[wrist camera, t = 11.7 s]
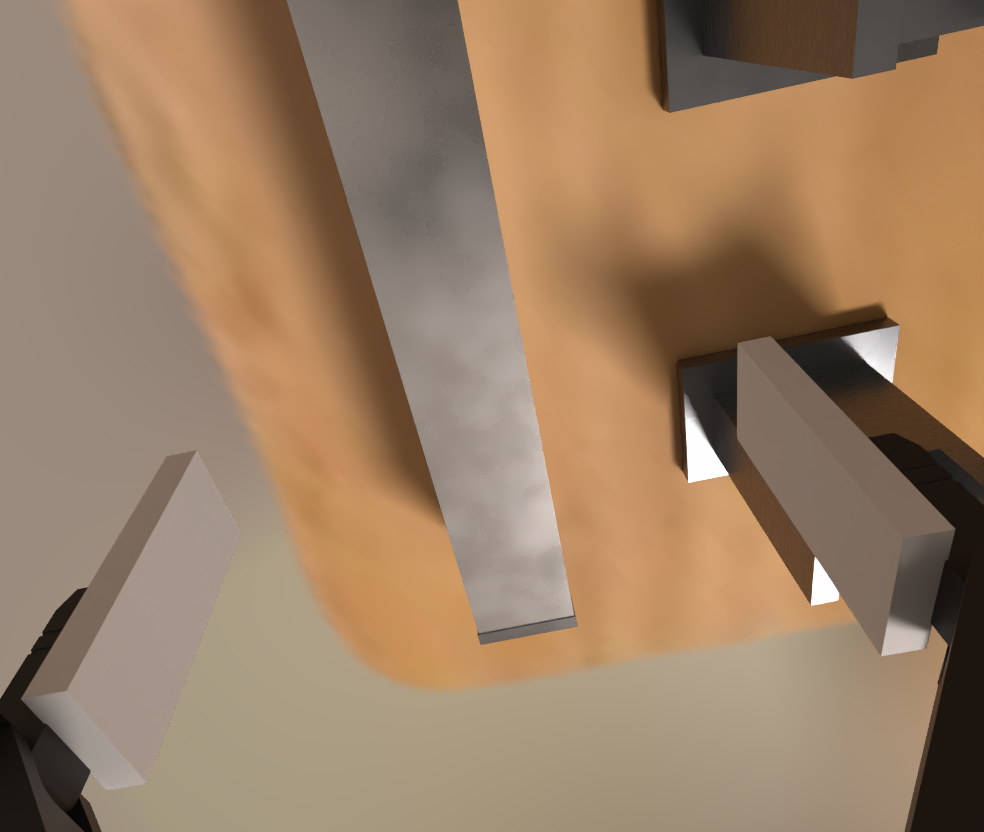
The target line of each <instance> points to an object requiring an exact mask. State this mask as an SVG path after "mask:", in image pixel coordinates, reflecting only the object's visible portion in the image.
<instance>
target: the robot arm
mask: <svg viewBox="0 0 984 832" xmlns="http://www.w3.org/2000/svg"><path fill="white" fill-rule="evenodd" d="M737 439H738V441H739V442H740V444H741V445H742V447H743V448H744V450H745V451H746V453H747V454H748V456H749V457H750V459H751V460H752V462H753V463H754V465H755V466H756V468H757V469H758V471H759V472H760V474H761V476H762V477H763V479H764V480H765V482H766V483H767V485H768V486H769V488H770V489H771V491H772V492H773V494H774V495H775V497H776V498H777V500H778V501H779V503H780V504H781V506H782V507H783V509H784V510H785V512H786V513H787V515H788V516H789V518H790V519H791V521H792V522H793V524H794V525H795V527H796V528H797V530H798V531H799V533H800V534H801V536H802V537H803V539H804V540H805V542H806V544H807V545H808V547H809V548H810V550H811V551H812V553H813V554H814V556H815V557H816V559H817V560H818V562H819V563H820V565H821V566H822V568H823V569H824V571H825V572H826V574H827V575H828V577H829V578H830V580H831V581H832V583H833V584H834V586H835V587H836V589H837V590H838V592H839V593H840V595H841V596H842V598H843V599H844V601H845V602H846V604H847V605H848V607H849V608H850V610H851V612H852V613H853V615H854V616H855V618H856V619H857V621H858V622H859V624H860V625H861V627H862V628H863V630H864V631H865V633H866V634H867V636H868V637H869V639H870V640H871V642H872V643H873V645H874V646H875V648H876V649H877V651H878V652H879V654H880V655H881V656H885V655H891V654H897V653H903V652H908V651H914V650H920V649H926V648H927V644H928V640H929V636H930V632H931V627H932V625H933V626H934V628H935V629H936V630H937V631H938V633H939V634H940V635H941V637H942V638H943V639H944V640H945V642H946V643H947V644H948V647H947V650H946V654H945V658H944V662H943V665H942V669H941V673H940V677H939V680H938V689H937V693H936V698H935V702H934V706H933V710H932V715H931V719H930V723H929V728H928V732H927V736H926V741H925V745H924V749H923V754H922V758H921V762H920V767H919V771H918V776H917V780H916V784H915V788H914V793H913V797H912V802H911V806H910V810H909V814H908V819H907V823H906V828H905V832H984V505H983V504H982V503H981V502H980V501H979V500H978V499H977V498H975V497H974V496H973V495H972V494H971V493H970V492H969V491H968V490H967V489H966V488H965V487H964V486H963V485H962V484H961V483H960V482H959V481H955V480H954V477H953V476H952V475H951V474H950V473H949V472H948V471H947V470H946V469H945V468H944V467H943V466H942V467H940V466H939V463H938V462H937V461H936V460H935V459H934V458H933V457H932V456H931V455H930V454H929V453H928V452H927V451H926V450H925V449H924V448H923V447H921V446H920V445H918V444H916V443H914V442H912V441H910V440H908V439H906V438H904V437H902V436H900V435H898V434H896V433H890V434H884V435H879V436H874V437H869V438H868V437H867V436H866V435H865V434H864V433H863V432H862V431H861V430H860V429H859V428H858V427H857V426H856V425H855V424H854V423H853V422H852V421H851V420H850V419H849V418H848V416H847V415H846V414H845V413H844V412H843V411H842V410H841V409H840V408H839V407H838V406H837V405H836V404H835V403H834V402H833V401H832V400H831V399H830V398H829V397H828V396H827V395H826V394H825V392H824V391H823V390H822V389H821V388H820V387H819V386H818V385H817V384H816V383H815V382H814V381H813V380H812V379H811V378H810V377H809V376H808V375H807V374H806V373H805V372H804V371H803V370H802V369H801V367H800V366H799V365H798V364H797V363H796V362H795V361H794V360H793V359H792V358H791V357H790V356H789V355H788V354H787V353H786V352H785V351H784V350H783V349H782V348H781V347H780V346H779V345H778V343H777V342H776V341H775V340H774V339H773V338H772V337H771V336H769V337H764V338H759V339H754V340H749V341H744V342H739V343H738V351H737ZM240 535H241V533H240V531H239V529H238V527H237V525H236V523H235V521H234V519H233V517H232V516H231V514H230V512H229V510H228V508H227V506H226V504H225V503H224V501H223V499H222V497H221V495H220V493H219V491H218V489H217V488H216V486H215V484H214V482H213V480H212V478H211V476H210V474H209V472H208V471H207V469H206V467H205V465H204V463H203V461H202V459H201V457H200V456H199V454H198V452H197V451H191V452H186V453H181V454H176V455H171V456H167V457H166V458H165V460H164V462H163V463H162V465H161V467H160V468H159V470H158V472H157V473H156V475H155V477H154V478H153V480H152V482H151V483H150V485H149V487H148V488H147V490H146V492H145V493H144V495H143V497H142V498H141V500H140V502H139V503H138V505H137V507H136V508H135V510H134V512H133V513H132V515H131V517H130V518H129V520H128V522H127V523H126V525H125V527H124V528H123V530H122V532H121V533H120V535H119V537H118V538H117V540H116V541H115V543H114V545H113V546H112V548H111V550H110V551H109V553H108V555H107V556H106V558H105V560H104V562H103V563H102V565H101V567H100V568H99V570H98V572H97V573H96V575H95V576H94V578H93V580H92V581H91V583H90V585H89V586H88V587H87V588H82V589H77V590H76V591H75V592H74V593H73V594H72V595H71V596H70V597H69V598H68V599H67V600H66V601H65V602H64V603H63V604H62V605H61V606H60V607H59V608H58V609H57V610H56V611H55V613H54V614H53V616H52V618H51V619H50V621H49V622H48V624H47V626H46V627H45V629H44V630H43V632H42V633H43V636H40V637H39V638H38V640H37V641H36V643H35V645H34V646H33V648H32V649H31V651H32V653H31V654H29V655H28V656H27V657H26V659H25V661H24V662H23V664H22V665H21V667H20V669H19V670H18V672H17V673H16V675H15V677H14V678H13V679H12V681H11V683H10V684H9V686H8V687H7V689H6V691H5V692H4V694H3V695H2V697H1V699H0V832H101V829H100V827H99V825H98V822H97V819H96V817H95V815H94V812H93V810H92V807H91V805H90V803H89V802H88V801H87V800H86V799H85V798H84V797H83V796H82V795H81V792H82V790H83V787H84V785H85V783H86V781H87V779H88V776H89V774H90V773H91V774H92V775H93V776H94V777H95V779H96V780H98V782H99V783H100V784H101V785H102V786H103V787H104V788H105V789H106V790H113V789H119V788H124V787H130V786H136V785H142V784H147V782H148V780H149V777H150V775H151V772H152V769H153V767H154V764H155V761H156V758H157V756H158V753H159V751H160V748H161V745H162V743H163V740H164V737H165V734H166V732H167V729H168V727H169V724H170V721H171V719H172V716H173V713H174V711H175V708H176V705H177V703H178V700H179V697H180V695H181V692H182V689H183V687H184V684H185V681H186V679H187V676H188V674H189V671H190V668H191V665H192V663H193V660H194V658H195V655H196V652H197V650H198V647H199V644H200V641H201V639H202V636H203V634H204V631H205V628H206V626H207V623H208V620H209V618H210V615H211V612H212V610H213V607H214V604H215V602H216V599H217V596H218V594H219V591H220V588H221V586H222V583H223V580H224V577H225V575H226V572H227V570H228V567H229V564H230V562H231V559H232V556H233V554H234V551H235V549H236V546H237V543H238V540H239V538H240Z"/></svg>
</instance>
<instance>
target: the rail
mask: <svg viewBox="0 0 984 832" xmlns="http://www.w3.org/2000/svg"><path fill="white" fill-rule="evenodd" d="M286 1H287V4H288V7H289V11H290V14H291V17H292V20H293V24H294V27H295V30H296V34H297V37H298V40H299V43H300V47H301V50H302V53H303V57H304V60H305V63H306V67H307V70H308V73H309V76H310V80H311V83H312V86H313V90H314V93H315V96H316V99H317V103H318V106H319V109H320V113H321V116H322V119H323V122H324V126H325V129H326V132H327V136H328V139H329V142H330V146H331V149H332V152H333V155H334V159H335V162H336V165H337V169H338V172H339V175H340V178H341V182H342V185H343V188H344V192H345V195H346V198H347V201H348V205H349V208H350V211H351V215H352V218H353V221H354V225H355V228H356V231H357V234H358V238H359V241H360V244H361V248H362V251H363V254H364V257H365V261H366V264H367V267H368V271H369V274H370V277H371V281H372V284H373V287H374V290H375V294H376V297H377V300H378V304H379V307H380V310H381V313H382V317H383V320H384V323H385V327H386V330H387V333H388V336H389V340H390V343H391V346H392V350H393V353H394V356H395V360H396V363H397V366H398V369H399V373H400V376H401V379H402V383H403V386H404V389H405V392H406V396H407V399H408V402H409V406H410V409H411V412H412V415H413V419H414V422H415V425H416V429H417V432H418V435H419V439H420V442H421V445H422V448H423V452H424V455H425V458H426V462H427V465H428V468H429V471H430V475H431V478H432V481H433V485H434V488H435V491H436V495H437V498H438V501H439V504H440V508H441V511H442V514H443V518H444V521H445V524H446V527H447V531H448V534H449V537H450V541H451V544H452V547H453V550H454V554H455V557H456V560H457V564H458V567H459V570H460V574H461V577H462V580H463V583H464V587H465V590H466V593H467V597H468V600H469V603H470V606H471V610H472V613H473V616H474V620H475V623H476V626H477V631H478V638H479V641H480V644H481V645H483V644H488V643H493V642H499V641H504V640H509V639H514V638H520V637H525V636H530V635H535V634H541V633H546V632H551V631H556V630H562V629H567V628H572V627H577V621H576V616H575V612H574V607H573V603H572V598H571V594H570V590H569V585H568V580H567V575H566V570H565V565H564V559H563V554H562V549H561V544H560V538H559V533H558V528H557V522H556V517H555V512H554V507H553V501H552V496H551V491H550V486H549V480H548V475H547V470H546V464H545V459H544V454H543V449H542V443H541V438H540V433H539V428H538V422H537V417H536V412H535V407H534V401H533V396H532V391H531V385H530V380H529V375H528V370H527V364H526V359H525V354H524V349H523V343H522V338H521V333H520V327H519V322H518V317H517V312H516V306H515V301H514V296H513V291H512V285H511V280H510V275H509V270H508V264H507V259H506V254H505V248H504V243H503V238H502V233H501V227H500V222H499V217H498V212H497V206H496V201H495V196H494V190H493V185H492V180H491V175H490V169H489V164H488V159H487V154H486V148H485V143H484V138H483V133H482V127H481V122H480V117H479V111H478V106H477V101H476V96H475V90H474V85H473V80H472V75H471V69H470V64H469V59H468V53H467V48H466V43H465V38H464V32H463V27H462V22H461V17H460V11H459V6H458V1H457V0H286Z"/></svg>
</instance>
